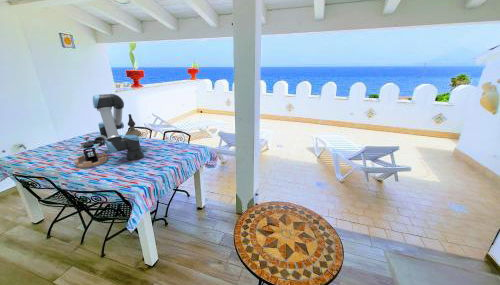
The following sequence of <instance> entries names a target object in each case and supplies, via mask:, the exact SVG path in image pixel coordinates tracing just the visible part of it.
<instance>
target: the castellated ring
mask: <svg viewBox="0 0 500 285" xmlns="http://www.w3.org/2000/svg"><path fill="white" fill-rule="evenodd" d="M95 152H96V151H95ZM96 155H97V157H98V161H97V162H94V163H92V161H88V162H86V160H85V156H84V154H82V155H80V156H76V159H75V160H74V165H75V167H76V168H78V169H89V168H94V167H98V166H101V165H103V164H106V163H107V161H108V155H107V153H105V152H102V154H99V152H98V151H97V152H96Z"/></svg>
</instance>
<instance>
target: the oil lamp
mask: <svg viewBox="0 0 500 285" xmlns="http://www.w3.org/2000/svg"><path fill="white" fill-rule="evenodd" d="M127 126H128V127H129V128H130V129H128V130H127V131H126V133H125V134H124V136H126V135H137V136H138V138H139V137H140V136H141V135H142V132H141V131H140V130H139V129H135V128H136V127H135V126H136V122H135V121H134V119H133V118H132V114H128V122H127ZM140 148H141V151H142V152H143V148H142V147H141V146H140Z"/></svg>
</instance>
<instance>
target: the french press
mask: <svg viewBox="0 0 500 285" xmlns="http://www.w3.org/2000/svg"><path fill="white" fill-rule="evenodd" d="M89 139H90V137H84V138H83V140H85V141H86V142H87V144H83V145H82V146H83V148H82V149H83V150H82V151H83V155H84V157H85V160H86V162H88V161H92V163H94V162H97V161H98V157H97V155H96V147H94V146H95V144H94V143H88V140H89Z"/></svg>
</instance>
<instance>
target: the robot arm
mask: <svg viewBox="0 0 500 285" xmlns="http://www.w3.org/2000/svg"><path fill="white" fill-rule="evenodd" d="M92 105H93V108H94V109H96V110H97V111H98V112H99V113H100V114H99V115H100V117H101V120H102V121H101V122H99V123H97V126H98V129H99V133H100V135H99V136H96V137H95V138H94V140H89V141H88V140H87V141H85V142H82V143H81V144H80V145H79V149H80V150H82V149H84V148H83V146H82V145H83V144H87V142H88V143H94V145H95V149H99V148H101V147H103V146H105V145H106V148H107V150H108V151H109V152H110V153H112V154H114V153H119V152H123V151H126V152H127V153H126V160H128V161H137V160H141V159H143V158H144V155H145V154H144V153H143V150H142V151H141V148H142V147H141V144H140V139H139V137H138V136H137V135H124V136H123V137H122V135H121V134H119V131H118V130H122V129H123V128H125V126H124V122H123V109H124V107H125V102H124V100H123V99H122V98H121V97H120V96H119V95H117V94H115V93H109V94H107V93H105V94H103V93H102V94H95V95H93V96H92ZM112 109H113V113H112ZM140 147H141V148H140Z"/></svg>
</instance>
